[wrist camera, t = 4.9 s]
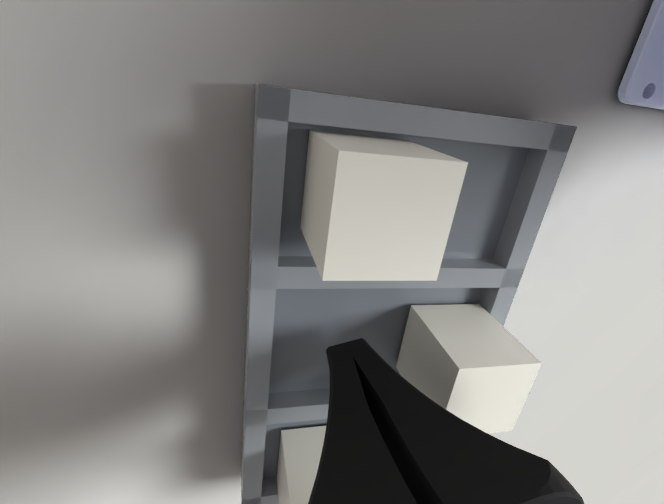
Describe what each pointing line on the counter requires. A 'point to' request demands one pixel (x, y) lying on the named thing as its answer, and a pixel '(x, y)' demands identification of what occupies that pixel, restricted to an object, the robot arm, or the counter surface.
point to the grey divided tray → (372, 296)
